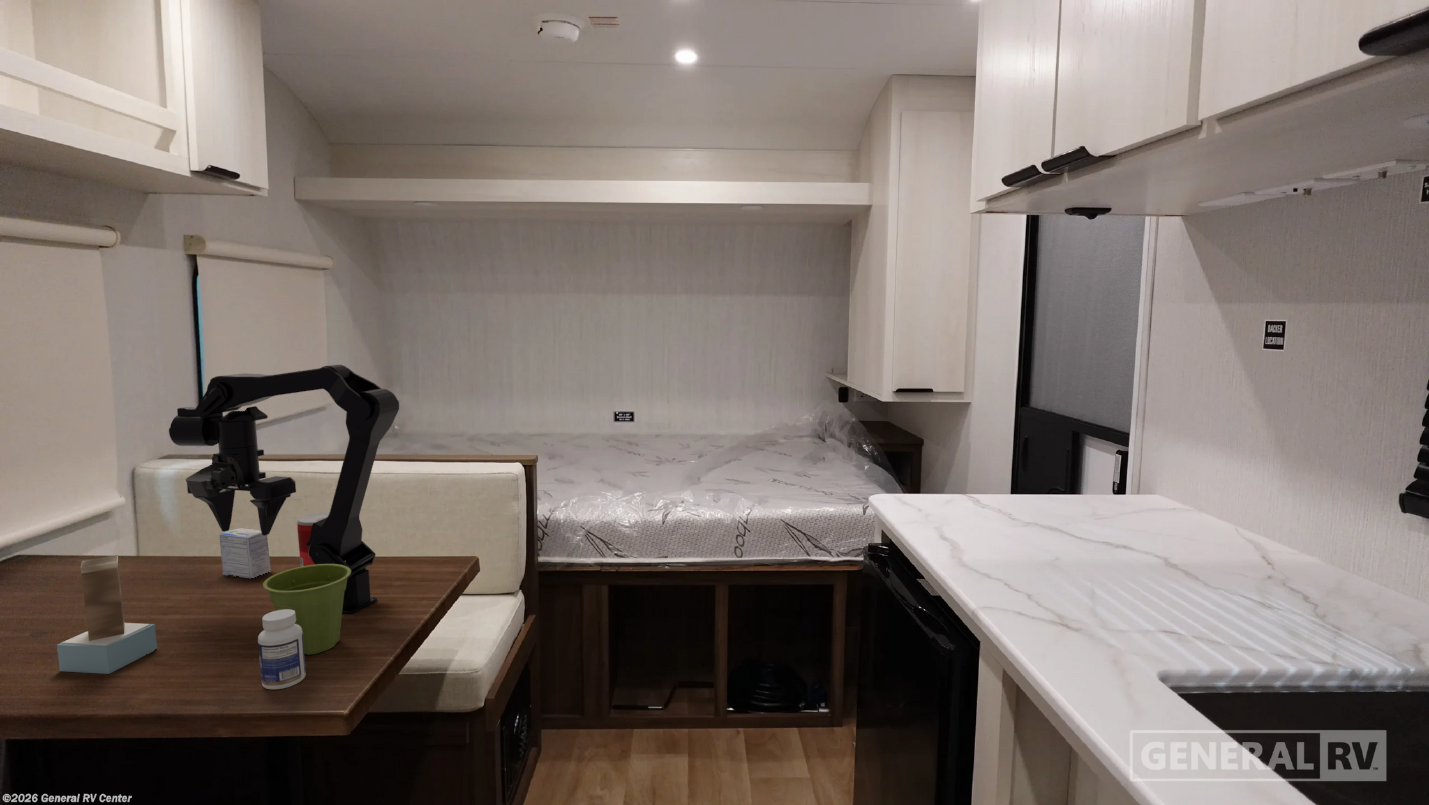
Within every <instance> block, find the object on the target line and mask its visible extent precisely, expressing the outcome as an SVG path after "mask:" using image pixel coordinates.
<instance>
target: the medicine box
mask: <svg viewBox="0 0 1429 805" xmlns="http://www.w3.org/2000/svg"><path fill="white" fill-rule="evenodd" d="M268 540H269V539H268V535H265V536H263V535H262V532H261V529H260V530H259V529H252V528H249V529H248V528H242V527H240V528H239V527H238V528H235V529H231V530H230V529H229V530H228V531H225V532H222V533H219V546H220V547H219V548H220V556H221V558H220V559H221V568H222V575H223V576H228V575H233V576H232V577H236V576H239V577H238V578H244V579H251V578H253V579H255V577H256V578H258V577H257V576H259V575H261V576H263V574H264V575H266V574H265V573H267V574H269V573H271V562H270V550H269V541H268ZM268 572H269V573H268ZM259 577H260V576H259Z"/></svg>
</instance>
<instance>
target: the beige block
mask: <svg viewBox="0 0 1429 805" xmlns="http://www.w3.org/2000/svg"><path fill="white" fill-rule="evenodd" d="M119 568H120V567H119V555H111V556H105V557H104V556H103V557H99V558H98V557H97V558H93V559H86V560H82V561H81V563H80V574H81V579H82V580H81V581H82V589H83V591H82V592H83V598H84V606H85V615H86V616H85V617H86V625H87V631H88V636H89V641H92V640H97V639H102V638H106V637H111V636H116V635H121V634H124V628H125V624H124V623H125V616H124V607H123V597H122V588H121V587H122V586H121V578H120V569H119Z"/></svg>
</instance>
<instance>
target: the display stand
mask: <svg viewBox="0 0 1429 805" xmlns="http://www.w3.org/2000/svg"><path fill="white" fill-rule="evenodd" d="M124 624H125V628H124V634H121V635H116V636H111V637H106V638H102V639H97V640H92V641H89V636H88V630H87V631H85V632H82V633H80V634H78V635H75V636H74V637H71V638H69V639H67V640H65V641H64V640H63V641H62V642H60V643H57V644H56V648H57V659H58V666H59V671H60V672H68V673H69V672H71V673H72V672H73V673H88V674H90V673H91V674H104V675H105V674H106V675H109V674H111V673H114V672H115V671H117V670H119V669H121V668H124V667H125V666H127V665H129V664H131V663H133V662H135V661H137V660H139V659H140V658H144V657H145V656H147V655H149V654H151V653H152V652H155V651H156V650H155V649H157V650H158V645H157V632H156V625H155V624H154V623H136V622H135V623H134V622H124ZM154 650H155V651H154ZM146 654H147V655H146Z"/></svg>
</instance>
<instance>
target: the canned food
mask: <svg viewBox="0 0 1429 805" xmlns="http://www.w3.org/2000/svg"><path fill="white" fill-rule="evenodd" d="M329 513H330V511H329V512H316V513H311V514H307V515H303V516H300V517H298V518H297V522H296V525H297V528H296V530H297V539H298V540H297V541H298V550H299V564H300V566H299V567H302V566H308V565H315V564H314V562H313V561H312V559H311V558H310V557H309V553H308V552H309V547H310V545H309V546H306V544H307V542H308V541H309V539H310V536H311V528H312V525H313V523H315V522H318V521H320V520H322V519H324V518H326V517H328V515H329Z"/></svg>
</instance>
